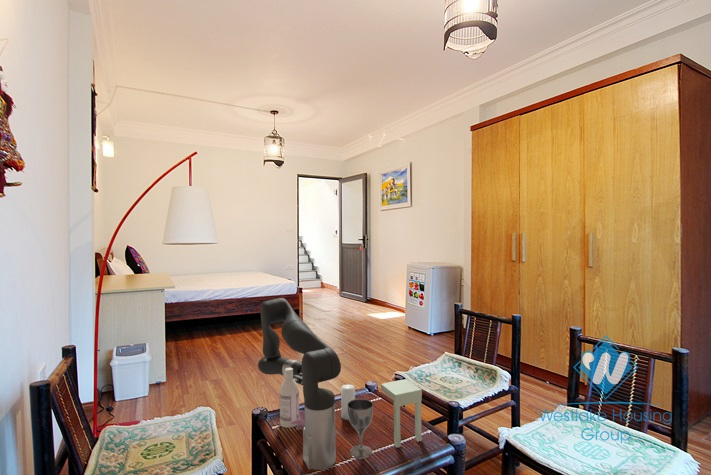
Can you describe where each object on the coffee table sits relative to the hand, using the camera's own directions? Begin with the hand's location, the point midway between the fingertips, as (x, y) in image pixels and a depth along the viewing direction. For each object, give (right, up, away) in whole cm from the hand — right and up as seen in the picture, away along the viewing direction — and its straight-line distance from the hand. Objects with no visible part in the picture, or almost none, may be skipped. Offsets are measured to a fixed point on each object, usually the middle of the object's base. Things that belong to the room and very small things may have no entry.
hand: (324, 379), depth 142 cm
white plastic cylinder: (+9, -12, -5) cm, 16 cm away
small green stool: (+28, -12, -20) cm, 36 cm away
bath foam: (-12, -13, -10) cm, 20 cm away
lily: (-4, -13, -17) cm, 21 cm away
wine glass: (+14, -12, -28) cm, 33 cm away
